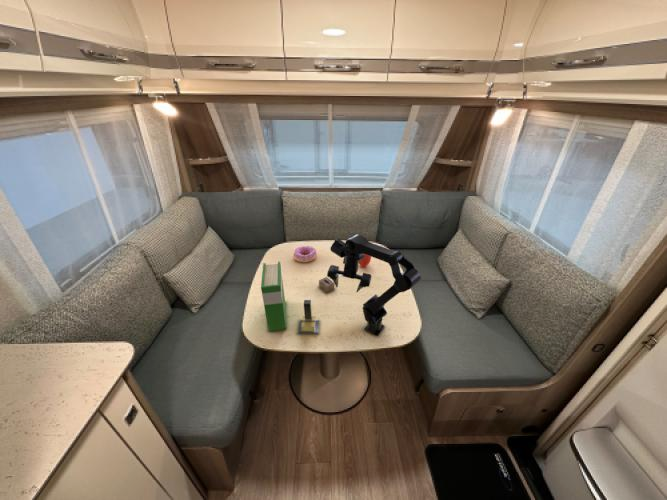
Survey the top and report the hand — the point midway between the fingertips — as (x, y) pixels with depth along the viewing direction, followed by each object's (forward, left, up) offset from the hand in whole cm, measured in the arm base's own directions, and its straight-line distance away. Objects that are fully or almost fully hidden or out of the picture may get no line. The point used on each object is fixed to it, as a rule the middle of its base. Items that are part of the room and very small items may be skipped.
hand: (347, 289), depth 121 cm
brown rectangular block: (+8, +18, -13) cm, 23 cm away
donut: (+25, +47, -13) cm, 55 cm away
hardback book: (-21, +24, -13) cm, 35 cm away
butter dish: (-19, +8, -13) cm, 24 cm away
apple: (+37, +12, -13) cm, 41 cm away
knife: (-19, +8, -12) cm, 23 cm away
